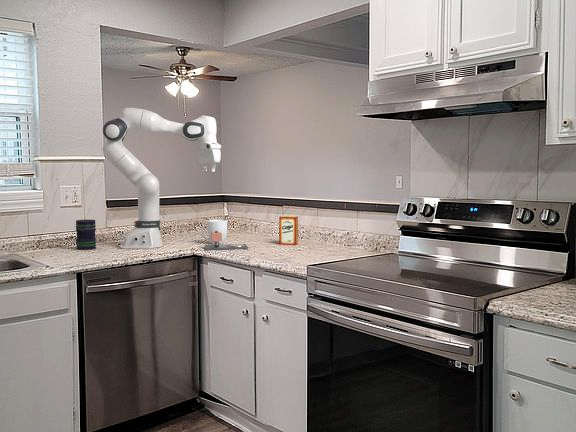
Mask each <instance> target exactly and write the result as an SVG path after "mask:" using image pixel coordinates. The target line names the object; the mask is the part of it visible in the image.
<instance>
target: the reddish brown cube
mask: <svg viewBox="0 0 576 432" xmlns="http://www.w3.org/2000/svg"><path fill="white" fill-rule="evenodd" d="M211 241H222V233H221V232H218V231H215V232H211Z"/></svg>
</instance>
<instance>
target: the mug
mask: <svg viewBox="0 0 576 432" xmlns="http://www.w3.org/2000/svg"><path fill="white" fill-rule="evenodd" d="M205 228H207V235H208V237H206V236H205V235H204V229H205ZM215 231H218V232H221V233H222V241H219V243H221V244H220V245H224V243H225V241H226V239H227V236H228V220H226V219H210V220H207V224H204V225H203V226H202V228H201V229H200V232H201V233H200V234H201V237H202V238H203V239H204V240H206V241H209V242H210V243H211V245H213V243H214V241H211V232H215Z"/></svg>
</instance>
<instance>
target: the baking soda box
mask: <svg viewBox="0 0 576 432" xmlns="http://www.w3.org/2000/svg"><path fill="white" fill-rule="evenodd" d="M278 218H279V220H278V221H279V225H278V226H279V227H278V229H279V230H278V231H279V232H278V236H279V237H278V238H279V239H278V241H279V242H278V243H279V246H297V245H298V244H299V216H298V215H289V214H288V215H281V216H279V217H278Z"/></svg>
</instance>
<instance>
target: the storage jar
mask: <svg viewBox="0 0 576 432" xmlns="http://www.w3.org/2000/svg"><path fill="white" fill-rule="evenodd" d="M96 230H97V229H96V220H95V219H77V220H75V232H76V240H75V241H76V242H75V243H76V251H91V250H93V251H94V250H96V249H97V247H96V246H97V238H96Z"/></svg>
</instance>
